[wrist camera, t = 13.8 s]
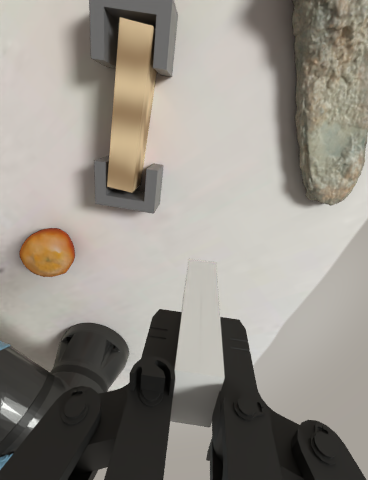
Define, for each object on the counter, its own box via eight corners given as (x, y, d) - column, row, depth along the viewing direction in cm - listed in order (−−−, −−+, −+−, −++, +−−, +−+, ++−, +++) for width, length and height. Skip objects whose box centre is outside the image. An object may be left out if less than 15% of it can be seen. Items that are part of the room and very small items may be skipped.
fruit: (16, 228, 41) (7, 245, 34) (65, 216, 44) (66, 230, 37) (34, 268, 44) (30, 290, 38) (78, 255, 47) (82, 273, 40)
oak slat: (141, 184, 37) (132, 192, 33) (119, 178, 37) (107, 186, 33) (161, 40, 29) (152, 25, 25) (133, 33, 29) (119, 17, 24)
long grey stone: (286, 204, 38) (353, 190, 37) (300, 217, 33) (377, 202, 32) (272, -152, 22) (392, -200, 20) (295, -223, 17) (451, -292, 16)
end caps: (159, 203, 38) (153, 213, 34) (107, 195, 38) (95, 203, 34) (177, 15, 28) (172, -4, 24) (105, 4, 28) (88, -16, 24)
